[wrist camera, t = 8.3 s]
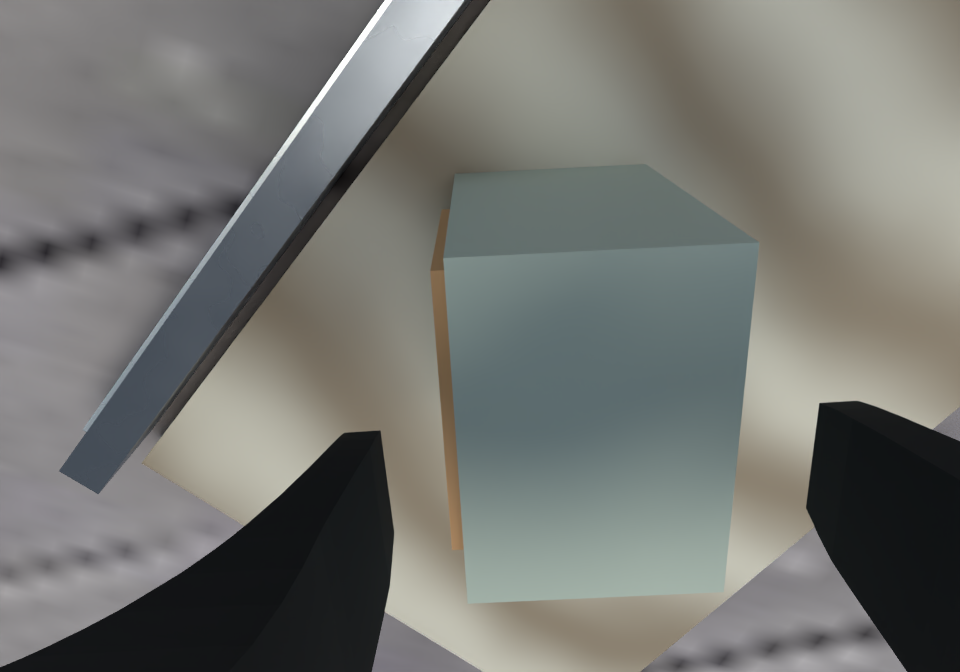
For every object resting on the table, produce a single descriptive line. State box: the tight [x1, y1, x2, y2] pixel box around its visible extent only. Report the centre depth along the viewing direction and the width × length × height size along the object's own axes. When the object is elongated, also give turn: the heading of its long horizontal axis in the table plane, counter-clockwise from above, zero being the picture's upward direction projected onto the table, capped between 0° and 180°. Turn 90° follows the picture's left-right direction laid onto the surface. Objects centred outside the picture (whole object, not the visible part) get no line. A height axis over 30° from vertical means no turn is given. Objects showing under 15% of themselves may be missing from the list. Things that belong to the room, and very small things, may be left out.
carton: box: [430, 164, 759, 604], centre depth 16 cm, size 5×7×8 cm
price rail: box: [59, 0, 472, 494], centre depth 18 cm, size 24×1×4 cm, turn 140°
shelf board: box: [142, 0, 960, 672], centre depth 21 cm, size 24×18×2 cm
